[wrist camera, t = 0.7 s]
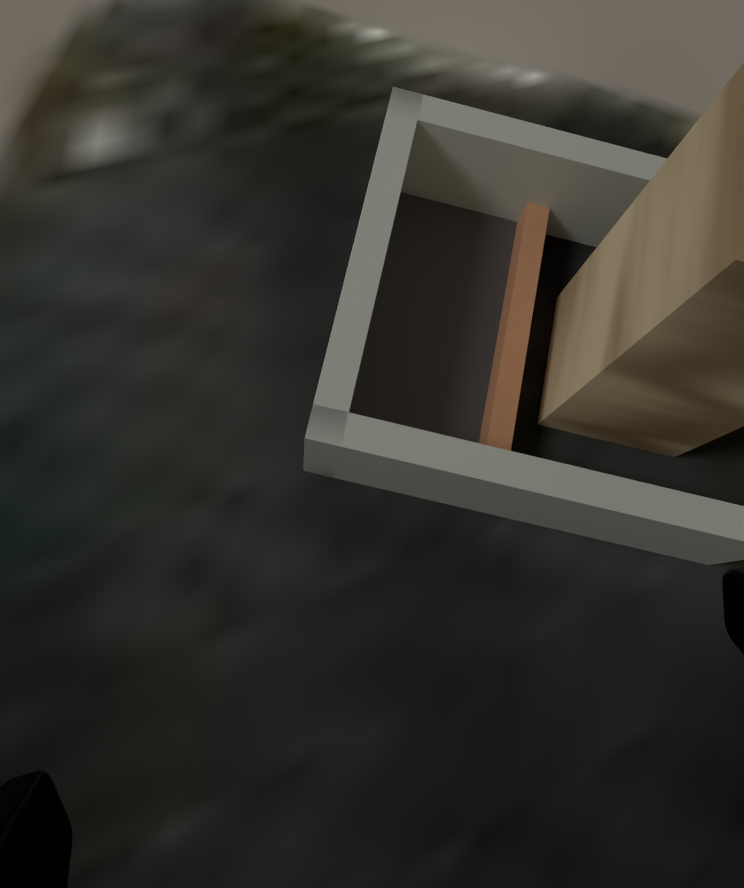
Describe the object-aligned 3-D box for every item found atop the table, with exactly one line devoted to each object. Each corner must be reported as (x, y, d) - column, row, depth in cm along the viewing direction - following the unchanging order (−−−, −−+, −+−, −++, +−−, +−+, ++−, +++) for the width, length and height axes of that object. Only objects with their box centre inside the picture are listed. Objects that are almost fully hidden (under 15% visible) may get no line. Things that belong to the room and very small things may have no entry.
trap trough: (730, 258, 26) (805, 194, 22) (708, 565, 23) (792, 552, 19) (378, 168, 25) (392, 86, 22) (303, 470, 22) (304, 438, 18)
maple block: (685, 330, 25) (969, 115, 14) (674, 457, 24) (978, 322, 13) (556, 298, 25) (749, 55, 14) (537, 424, 23) (735, 259, 13)
